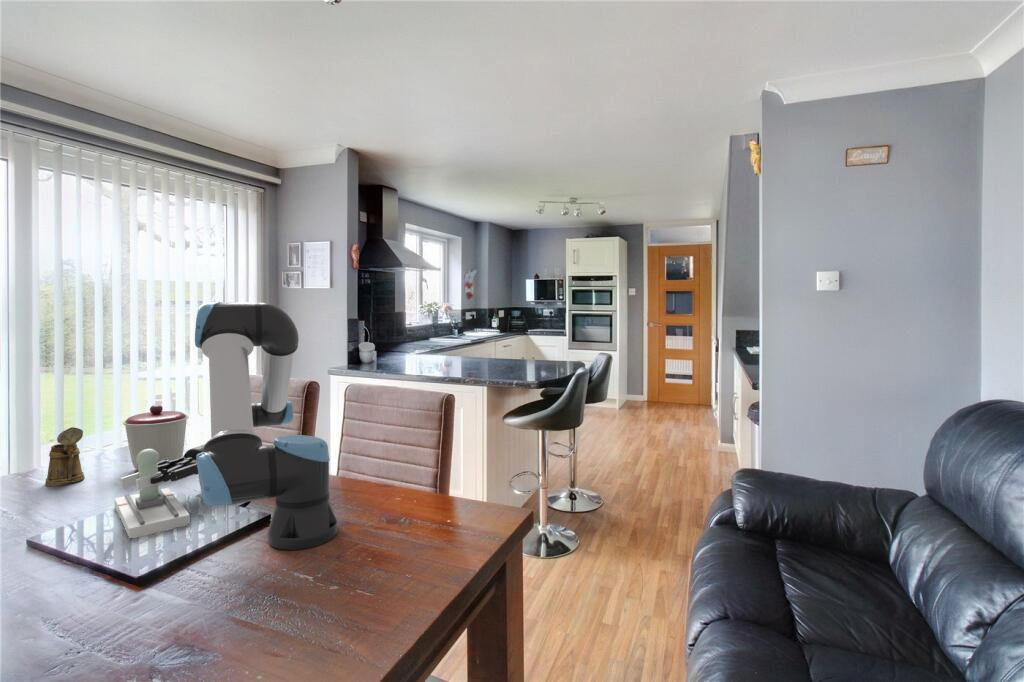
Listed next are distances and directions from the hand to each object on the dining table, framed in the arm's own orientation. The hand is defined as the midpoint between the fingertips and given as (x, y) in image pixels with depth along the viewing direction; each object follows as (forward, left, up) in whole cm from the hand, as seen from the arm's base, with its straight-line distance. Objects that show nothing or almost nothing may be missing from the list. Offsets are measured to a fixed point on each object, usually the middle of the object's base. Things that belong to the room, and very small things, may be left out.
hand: (129, 484), depth 128 cm
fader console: (+2, -4, -9) cm, 11 cm away
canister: (+49, -13, -10) cm, 51 cm away
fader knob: (+3, -4, -7) cm, 9 cm away
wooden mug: (+49, +10, -10) cm, 50 cm away
